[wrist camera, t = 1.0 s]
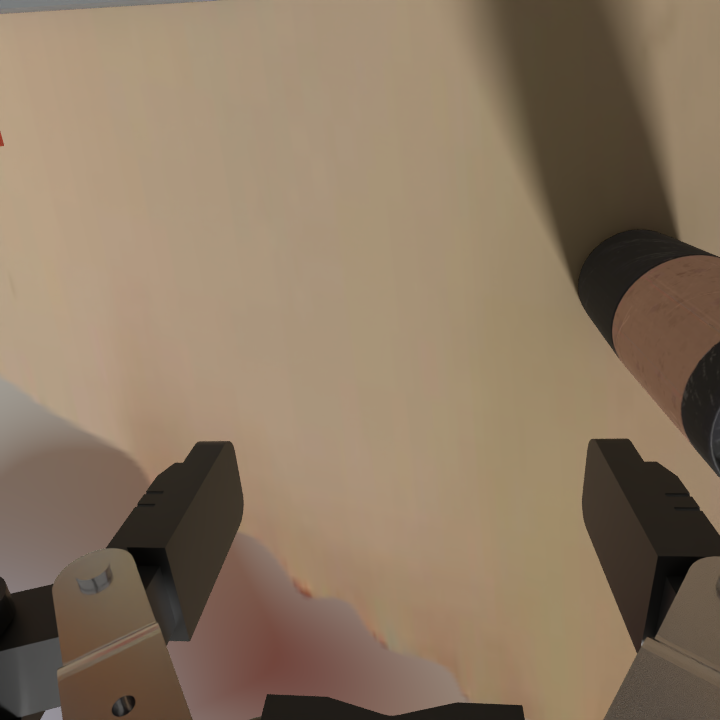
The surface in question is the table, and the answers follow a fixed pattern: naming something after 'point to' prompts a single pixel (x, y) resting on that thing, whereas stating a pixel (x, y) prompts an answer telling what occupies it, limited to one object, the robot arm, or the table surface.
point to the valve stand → (74, 4)
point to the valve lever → (1, 141)
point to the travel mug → (662, 325)
